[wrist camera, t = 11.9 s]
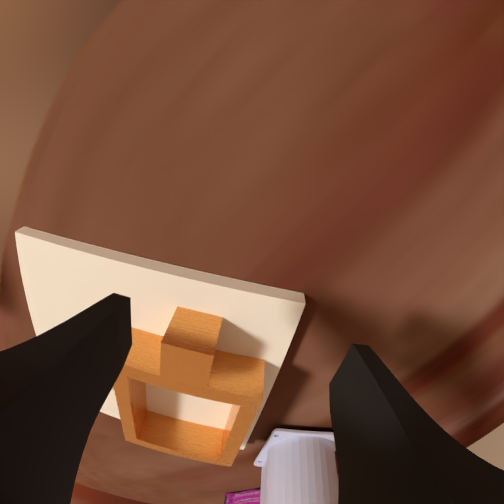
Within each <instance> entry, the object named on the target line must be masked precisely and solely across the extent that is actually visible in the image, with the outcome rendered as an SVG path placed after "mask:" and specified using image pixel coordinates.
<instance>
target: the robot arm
mask: <svg viewBox="0 0 504 504" xmlns="http://www.w3.org/2000/svg"><path fill="white" fill-rule="evenodd" d="M131 346H132V328H131V298H130V297H127V296H123V295H120V294H117V293H112V294H111V295H109V296H107V297H105V298H103V299H102V300H100V301H98V302H97V303H95V304H93V305H92V306H90V307H88V308H87V309H85V310H83V311H82V312H80V313H78V314H76V315H75V316H73V317H71V318H70V319H68V320H66V321H65V322H63V323H61V324H59V325H57V326H55V327H53V328H51V329H50V330H48V331H46V332H44V333H42V334H40V335H38V336H36V337H34V338H32V339H30V340H28V341H26V342H23V343H21V344H19V345H16V346H14V347H11V348H9V349H6V350H3V351H0V504H70V502H71V497H72V492H73V487H74V483H75V479H76V475H77V471H78V467H79V464H80V460H81V457H82V454H83V451H84V448H85V445H86V442H87V439H88V436H89V433H90V431H91V428H92V426H93V424H94V421H95V419H96V417H97V415H98V413H99V412H100V410H101V408H102V406H103V404H104V402H105V400H106V398H107V397H108V395H109V393H110V391H111V389H112V387H113V386H114V384H115V382H116V380H117V378H118V376H119V375H120V373H121V371H122V369H123V366H124V364H125V362H126V359H127V357H128V354H129V351H130V349H131ZM329 392H330V414H331V421H332V428H333V432H318V431H303V430H292V429H282V428H276V429H274V430H273V431H272V433H271V435H270V436H269V438H268V440H267V441H266V443H265V445H264V446H263V448H262V450H261V451H260V453H259V455H258V456H257V458H256V460H255V461H254V465H255V466H260V467H262V474H261V493H260V504H504V471H503V470H502V469H499V468H497V467H495V466H493V465H492V464H490V463H488V462H486V461H485V460H483V459H481V458H480V457H478V456H477V455H475V454H474V453H472V452H471V451H469V450H468V449H467V448H465V447H464V446H463V445H461V444H460V443H459V442H457V441H456V440H455V439H454V438H453V437H451V436H450V435H449V434H448V433H447V432H446V431H444V430H443V429H442V428H441V427H440V426H439V425H438V424H437V423H436V422H435V421H434V420H433V419H432V418H431V417H430V416H429V415H428V414H427V413H426V412H425V411H424V410H423V409H422V408H421V407H420V406H419V405H418V403H417V402H416V401H415V400H414V399H413V398H412V397H411V396H410V394H409V393H408V392H407V391H406V390H405V389H404V387H403V386H402V385H401V384H400V383H399V381H398V380H397V379H396V378H395V376H394V375H393V374H392V373H391V372H390V370H389V369H388V368H387V367H386V365H385V364H384V363H383V362H382V361H381V359H380V358H379V357H378V356H377V355H376V354H375V352H374V351H373V350H372V349H371V348H370V347H369V346H367V345H359V344H352V345H351V347H350V349H349V350H348V352H347V354H346V356H345V358H344V360H343V361H342V363H341V365H340V367H339V368H338V370H337V372H336V374H335V375H334V377H333V379H332V380H331V382H330V384H329ZM335 450H336V455H337V462H338V473H339V488H338V479H337V470H336V461H335V453H334V451H335Z"/></svg>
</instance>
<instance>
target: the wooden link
mask: <svg viewBox="0 0 504 504" xmlns="http://www.w3.org/2000/svg"><path fill="white" fill-rule="evenodd" d="M222 318H223V317H220V316H216V315H212V314H207V313H203V312H199V311H195V310H191V309H187V308H183V307H179V306H177V308H176V310H175V312H174V315H173V317H172V319H171V321H170V323H169V326H168V328H167V330H166V332H165V334H164V336H160V335H157V334H153V333H150V332H146V331H143V330H140V329H136V328H133V327H131V328H132V346H131V349H130V351H129V354H128V357H127V359H126V362H125V364H124V366H123V369H122V371H121V373H120V375H119V376H118V378H117V380H116V382H115V384H114V391H115V396H116V401H117V406H118V410H119V415H120V419H121V423H122V428H123V432H124V436H125V439H126V441H129V442H132V443H135V444H138V445H141V446H145V447H148V448H151V449H154V450H158V451H161V452H165V453H168V454H172V455H176V456H180V457H184V458H188V459H193V460H197V461H202V462H207V463H212V464H217V465H223V466H229V467H231V465H232V463H233V461H234V459H235V457H236V455H237V453H238V451H239V449H240V447H241V445H242V443H243V441H244V439H245V437H246V435H247V433H248V431H249V428H250V426H251V424H252V422H253V420H254V418H255V416H256V413H257V411H258V409H259V407H260V405H261V402H262V400H263V389H264V364H265V360H264V359H259V358H253V357H248V356H243V355H238V354H234V353H229V352H224V351H220V350H216V346H217V342H218V337H219V332H220V328H221V323H222ZM145 383H148V384H151V385H155V386H158V387H161V388H165V389H168V390H172V391H176V392H180V393H183V394H187V395H191V396H196V397H200V398H204V399H208V400H213V401H218V402H223V403H228V404H232V407H231V410H230V413H229V416H228V419H227V422H226V425H225V428H224V429H220V428H215V427H210V426H206V425H201V424H197V423H192V422H188V421H184V420H180V419H176V418H173V417H169V416H165V415H162V414H158V413H155V412H152V411H148V410H147V401H146V384H145Z"/></svg>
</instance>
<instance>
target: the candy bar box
mask: <svg viewBox="0 0 504 504" xmlns="http://www.w3.org/2000/svg"><path fill="white" fill-rule="evenodd" d="M260 493H261V488H258V489H253V490H247V491H240V492H233V493H226V495H225V502H224V504H260Z"/></svg>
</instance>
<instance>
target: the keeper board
mask: <svg viewBox="0 0 504 504" xmlns="http://www.w3.org/2000/svg"><path fill="white" fill-rule="evenodd" d="M15 236H16V244H17V251H18V258H19V264H20V270H21V275H22V280H23V285H24V290H25V294H26V299H27V303H28V307H29V311H30V315H31V319H32V322H33V326H34V329H35V333H36V336H38V335H40V334H42V333H44V332H46V331H48V330H50V329H51V328H53V327H55V326H57V325H59V324H61V323H63V322H65V321H66V320H68V319H70V318H71V317H73V316H75V315H76V314H78V313H80V312H82V311H83V310H85V309H87V308H88V307H90V306H92V305H93V304H95V303H97V302H98V301H100V300H102V299H103V298H105V297H107V296H109V295H111V294H112V293H117V294H120V295H123V296H127V297H130V298H131V327H133V328H136V329H140V330H143V331H146V332H150V333H153V334H157V335H160V336H164V334H165V332H166V330H167V328H168V326H169V323H170V321H171V319H172V317H173V315H174V312H175V310H176V308H177V306H179V307H183V308H187V309H191V310H195V311H199V312H203V313H207V314H212V315H216V316H220V317H223V318H222V323H221V328H220V332H219V337H218V342H217V346H216V350H220V351H224V352H229V353H234V354H238V355H243V356H248V357H253V358H259V359H264V360H265V364H264V389H263V400H262V402H261V405H260V407H259V409H258V411H257V413H256V416H255V418H254V420H253V422H252V424H251V426H250V428H249V431H248V433H247V435H246V437H245V439H244V441H243V443H242V445H241V447H240V449H243V450H244V448H245V445H246V443H247V441H248V439H249V437H250V435H251V433H252V431H253V429H254V427H255V424H256V422H257V420H258V418H259V416H260V414H261V411H262V409H263V407H264V405H265V402H266V400H267V398H268V396H269V393H270V391H271V389H272V387H273V384H274V382H275V380H276V377H277V375H278V372H279V370H280V368H281V365H282V363H283V360H284V358H285V356H286V353H287V351H288V348H289V346H290V343H291V341H292V338H293V336H294V333H295V331H296V328H297V325H298V323H299V320H300V318H301V315H302V312H303V310H304V307H305V304H306V302H305V297H304V293H300V292H295V291H290V290H285V289H280V288H276V287H271V286H266V285H261V284H257V283H252V282H247V281H243V280H238V279H233V278H229V277H224V276H220V275H215V274H211V273H206V272H202V271H198V270H193V269H189V268H185V267H180V266H176V265H172V264H168V263H163V262H159V261H155V260H151V259H147V258H143V257H139V256H135V255H131V254H126V253H122V252H119V251H115V250H111V249H107V248H103V247H99V246H95V245H91V244H87V243H84V242H80V241H76V240H72V239H68V238H65V237H61V236H57V235H54V234H50V233H46V232H43V231H39V230H36V229H32V228H29V227H25V226H24V227H22V228H20V229H19V230H17V231H15ZM145 384H146V401H147V410H148V411H152V412H155V413H158V414H162V415H165V416H169V417H173V418H176V419H180V420H184V421H188V422H192V423H197V424H201V425H206V426H210V427H215V428H220V429H224V428H225V425H226V422H227V419H228V416H229V413H230V410H231V407H232V404H228V403H223V402H218V401H213V400H208V399H204V398H200V397H196V396H191V395H187V394H183V393H180V392H176V391H172V390H168V389H165V388H161V387H158V386H155V385H151V384H148V383H145ZM100 412H102V413H105V414H108V415H110V416H113V417H116V418H118V419H120V415H119V410H118V406H117V401H116V396H115V391H114V386H113V387H112V389H111V391H110V393H109V395H108V397H107V398H106V400H105V402H104V404H103V406H102V408H101V410H100Z"/></svg>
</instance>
